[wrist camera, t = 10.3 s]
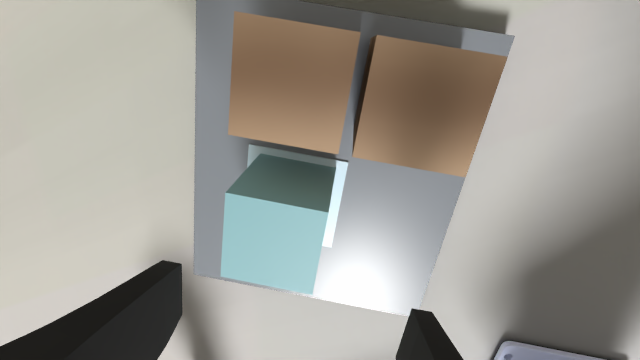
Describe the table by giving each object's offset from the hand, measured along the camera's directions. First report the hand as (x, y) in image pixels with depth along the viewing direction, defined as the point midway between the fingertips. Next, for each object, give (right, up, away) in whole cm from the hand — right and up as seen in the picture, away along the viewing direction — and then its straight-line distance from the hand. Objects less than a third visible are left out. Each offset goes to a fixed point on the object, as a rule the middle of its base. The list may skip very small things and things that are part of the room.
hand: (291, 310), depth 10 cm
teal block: (-1, +3, +8) cm, 8 cm away
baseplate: (+1, +5, +8) cm, 9 cm away
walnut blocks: (+3, +9, +5) cm, 10 cm away
